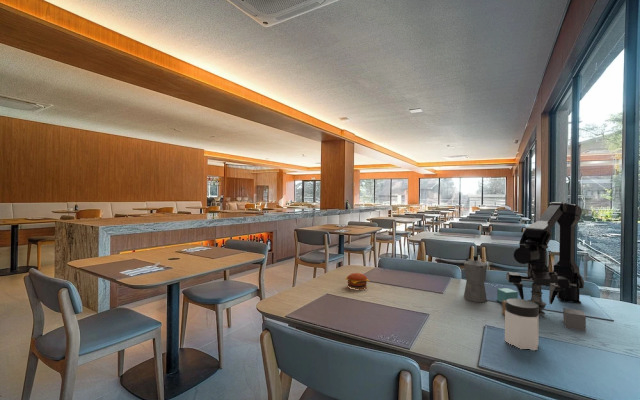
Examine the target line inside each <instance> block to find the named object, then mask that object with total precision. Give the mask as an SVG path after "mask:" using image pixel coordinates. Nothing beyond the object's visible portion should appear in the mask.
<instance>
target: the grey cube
mask: <svg viewBox="0 0 640 400" xmlns="http://www.w3.org/2000/svg"><path fill="white" fill-rule="evenodd" d="M562 314H563V315H562V316H563V317H562V318H563V320H562V321H563V322H562V323H563V325H564V326H565V328H567V329H571V330H578V331H582V332H586V331H587V328H586V327H587V324H586V322H587V315H586V314H585V312H584V311H583V310H580V309H574V308H566V307H563V313H562Z"/></svg>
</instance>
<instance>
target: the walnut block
mask: <svg viewBox="0 0 640 400" xmlns="http://www.w3.org/2000/svg"><path fill="white" fill-rule="evenodd" d="M505 303H506V300H502V303H501V307H502V309H501V312H502V313H501V314H502V315H503V316H505V310H506V307H505Z"/></svg>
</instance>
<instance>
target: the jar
mask: <svg viewBox="0 0 640 400" xmlns="http://www.w3.org/2000/svg"><path fill="white" fill-rule="evenodd" d="M528 300H529V299H524V300H523V299H521V298H518V299H507V300H506V303H505V307H506V310H505V315H504V342H505V341H506V342H508V343H509V344H508V343H507V344H508V345H510V344H511V345H510V346H512V345H514V346H516V347H518V348H520V349H519V350H522V349H532V350H531V351H535V350H537V351H538V347H539V344H540V343H539V342H540V341H539V340H540V338H539V337H540V335H539V334H540V330H539V328H540V318H539V317H540V315H539V306H538V305H537V304H536V303H534V302H531V301H528ZM506 342H505V343H506ZM514 346H513V347H514ZM516 347H515V348H516ZM518 348H517V349H518Z"/></svg>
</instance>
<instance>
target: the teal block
mask: <svg viewBox="0 0 640 400" xmlns="http://www.w3.org/2000/svg"><path fill="white" fill-rule="evenodd" d="M496 291H497V294H496V296H497V297H496V301H497V300H498V302H499V303H501V304H502V300H507V299H519V298H518V297H519V295H518V294H519V292H518V290H517V291H516V290H514V289H511V288H510V287H505V288H497V289H496Z"/></svg>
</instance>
